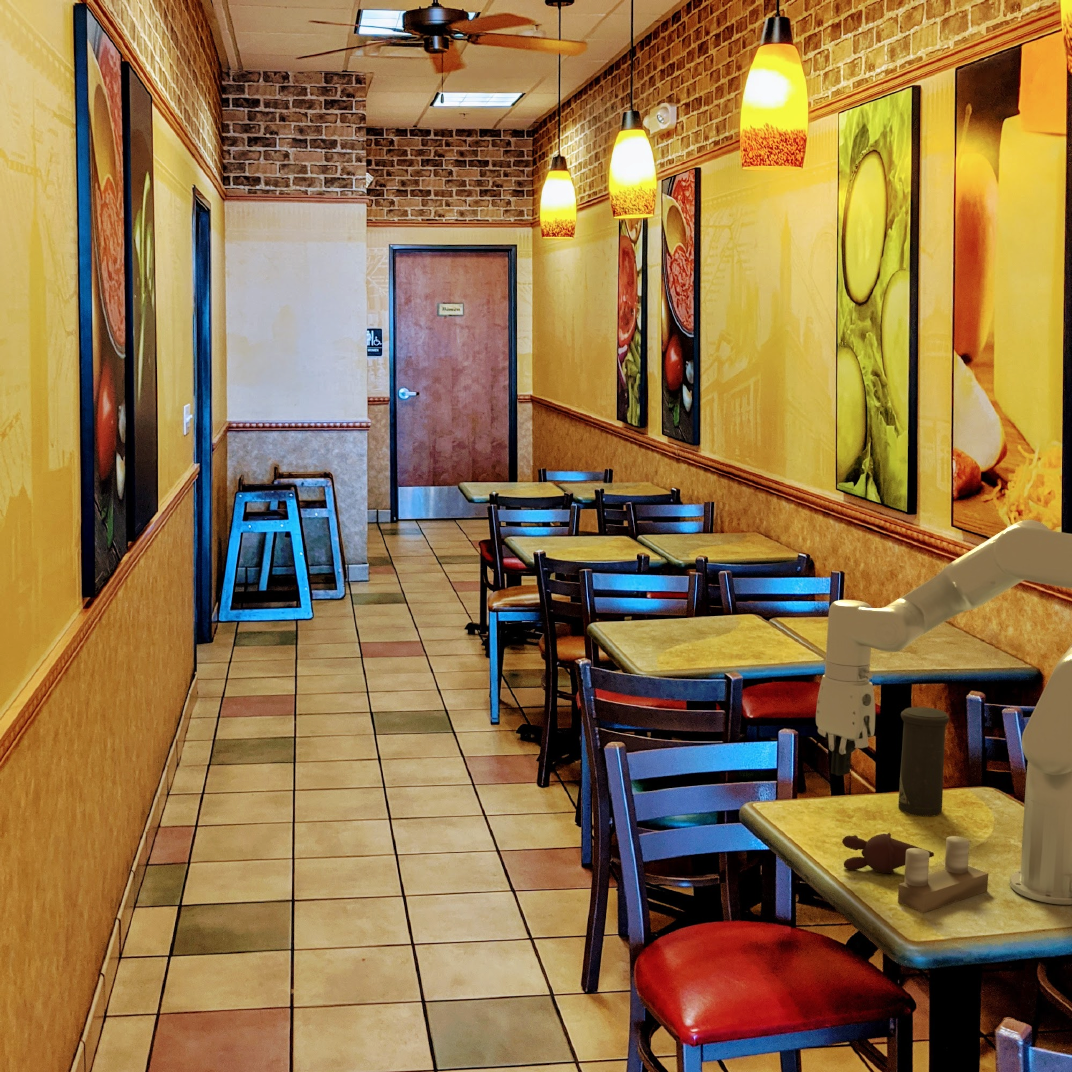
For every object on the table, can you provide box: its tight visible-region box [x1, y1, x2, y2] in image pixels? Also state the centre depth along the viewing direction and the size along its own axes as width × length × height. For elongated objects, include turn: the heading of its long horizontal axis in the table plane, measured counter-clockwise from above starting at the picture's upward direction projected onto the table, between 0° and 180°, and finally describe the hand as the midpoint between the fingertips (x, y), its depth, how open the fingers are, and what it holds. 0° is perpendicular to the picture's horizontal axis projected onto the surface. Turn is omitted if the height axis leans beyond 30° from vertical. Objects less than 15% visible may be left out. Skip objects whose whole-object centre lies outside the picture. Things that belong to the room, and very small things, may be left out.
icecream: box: [841, 832, 935, 875], centre depth 221 cm, size 7×7×15 cm
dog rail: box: [897, 835, 989, 914], centre depth 211 cm, size 6×16×8 cm, turn 124°
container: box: [897, 706, 950, 817], centre depth 252 cm, size 9×9×20 cm
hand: (840, 773), depth 229 cm, fingers closed
